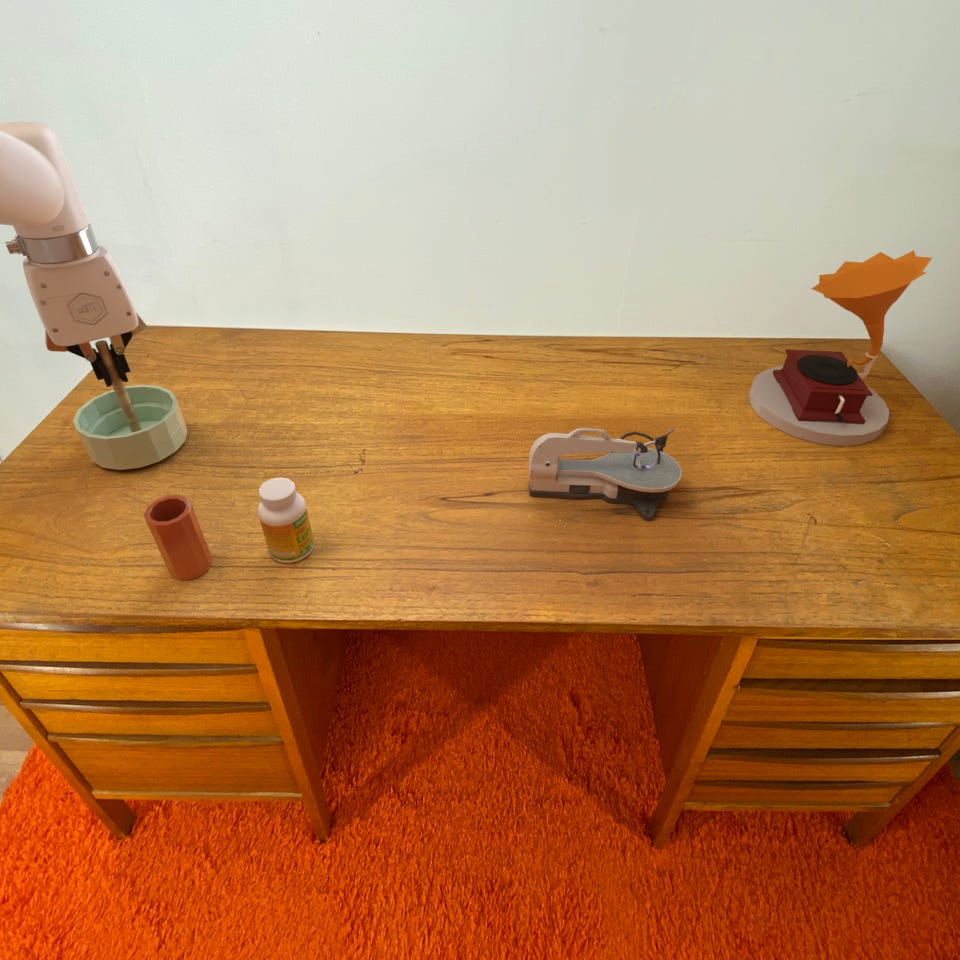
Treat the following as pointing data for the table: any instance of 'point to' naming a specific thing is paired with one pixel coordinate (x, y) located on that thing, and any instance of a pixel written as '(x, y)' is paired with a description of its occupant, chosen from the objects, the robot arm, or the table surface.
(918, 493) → the table surface
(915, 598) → the table surface
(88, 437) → the bowl
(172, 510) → the utensil pot
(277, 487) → the supplement bottle
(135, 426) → the stick
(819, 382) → the gramophone
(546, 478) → the jigsaw machine
